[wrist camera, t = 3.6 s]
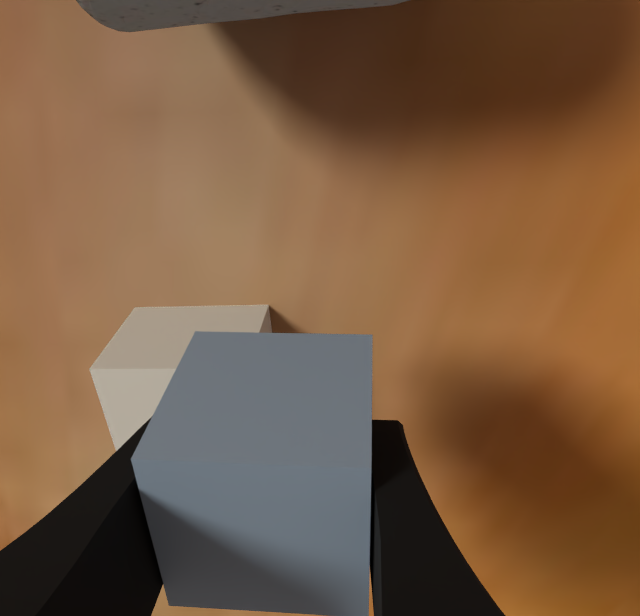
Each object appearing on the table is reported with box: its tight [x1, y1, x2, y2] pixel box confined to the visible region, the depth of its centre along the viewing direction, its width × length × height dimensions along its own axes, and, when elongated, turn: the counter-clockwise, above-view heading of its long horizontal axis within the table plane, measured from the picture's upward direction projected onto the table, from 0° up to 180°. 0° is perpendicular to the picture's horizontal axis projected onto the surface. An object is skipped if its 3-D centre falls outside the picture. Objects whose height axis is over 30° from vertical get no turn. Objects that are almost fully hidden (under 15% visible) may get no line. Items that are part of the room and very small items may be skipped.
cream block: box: [90, 305, 272, 451], centre depth 21 cm, size 5×5×4 cm
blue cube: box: [131, 331, 372, 616], centre depth 12 cm, size 4×4×4 cm
